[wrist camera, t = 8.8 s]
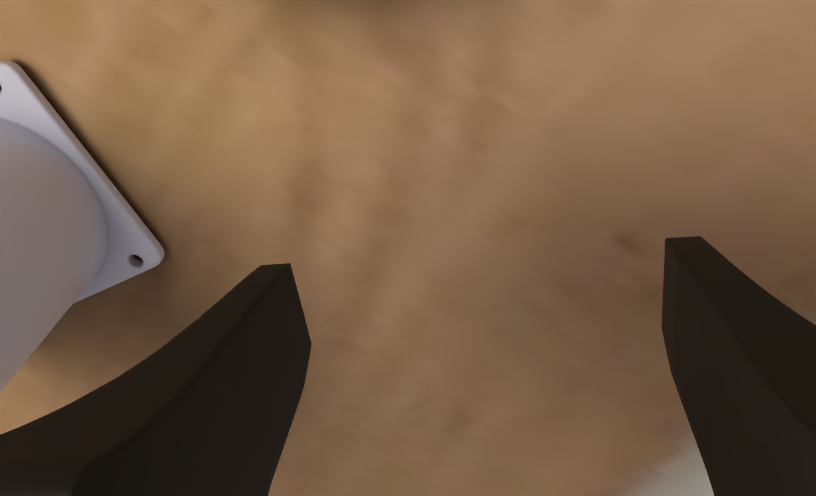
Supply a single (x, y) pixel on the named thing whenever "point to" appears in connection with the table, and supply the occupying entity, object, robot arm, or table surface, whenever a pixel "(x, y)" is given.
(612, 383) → the table surface
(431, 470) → the table surface
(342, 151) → the table surface
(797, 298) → the table surface
